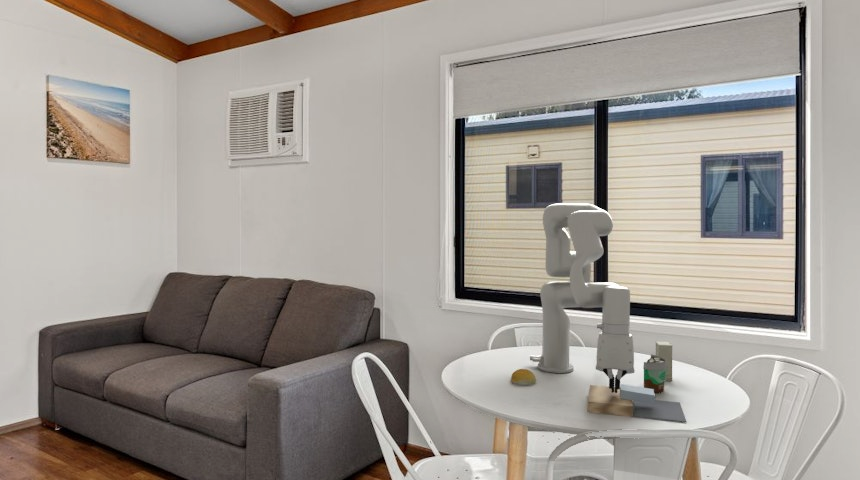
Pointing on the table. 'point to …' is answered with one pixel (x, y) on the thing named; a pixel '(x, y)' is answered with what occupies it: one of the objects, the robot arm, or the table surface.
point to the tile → (637, 393)
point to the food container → (655, 373)
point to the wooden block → (608, 402)
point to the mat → (659, 410)
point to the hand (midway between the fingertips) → (614, 391)
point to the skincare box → (665, 351)
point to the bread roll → (523, 377)
